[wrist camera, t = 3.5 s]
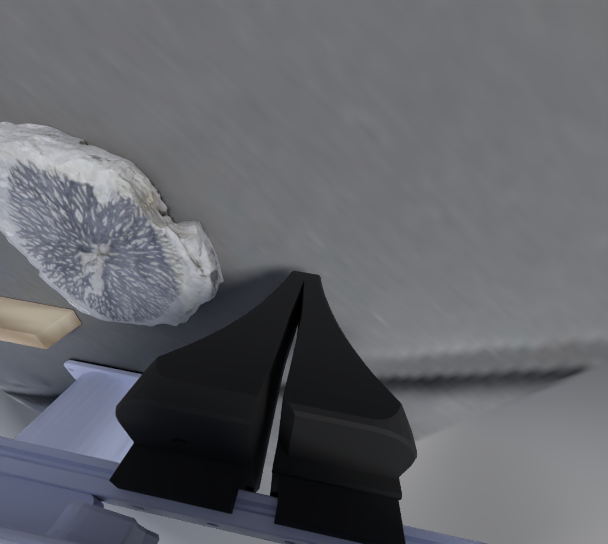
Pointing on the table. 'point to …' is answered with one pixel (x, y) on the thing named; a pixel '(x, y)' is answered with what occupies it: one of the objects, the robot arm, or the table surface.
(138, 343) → the table surface
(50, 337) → the bay
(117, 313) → the fossil
